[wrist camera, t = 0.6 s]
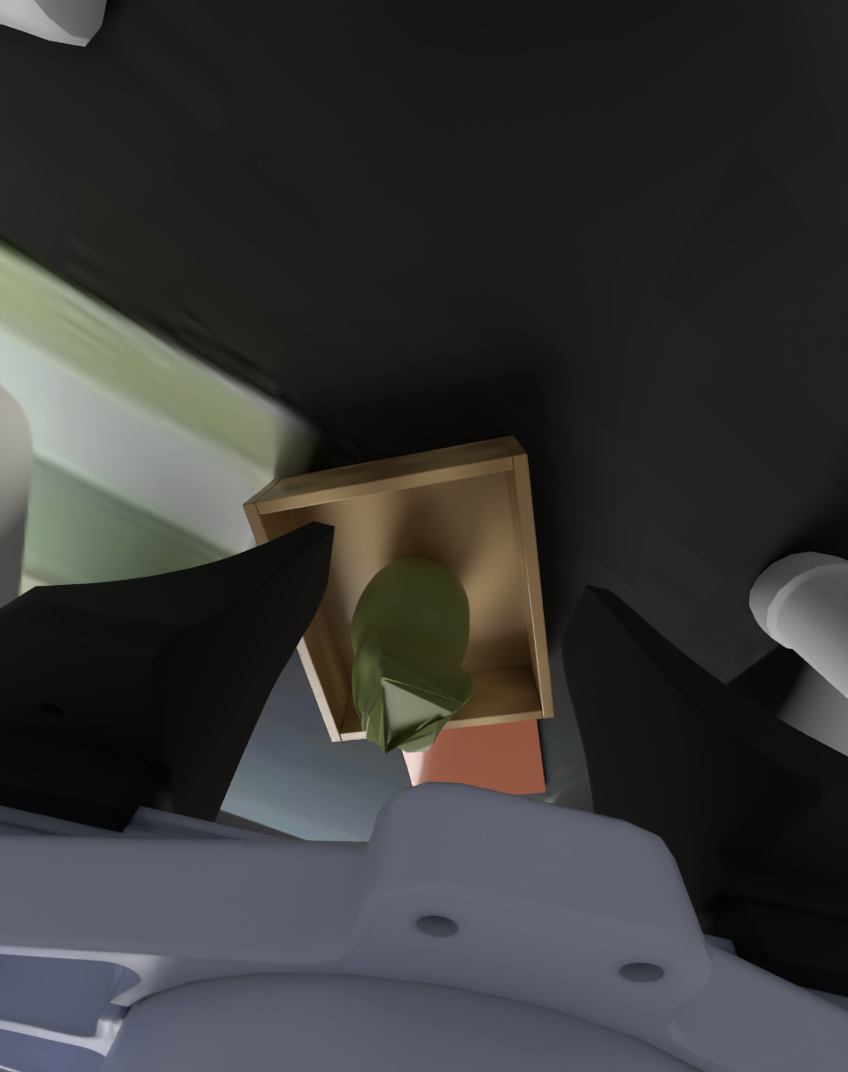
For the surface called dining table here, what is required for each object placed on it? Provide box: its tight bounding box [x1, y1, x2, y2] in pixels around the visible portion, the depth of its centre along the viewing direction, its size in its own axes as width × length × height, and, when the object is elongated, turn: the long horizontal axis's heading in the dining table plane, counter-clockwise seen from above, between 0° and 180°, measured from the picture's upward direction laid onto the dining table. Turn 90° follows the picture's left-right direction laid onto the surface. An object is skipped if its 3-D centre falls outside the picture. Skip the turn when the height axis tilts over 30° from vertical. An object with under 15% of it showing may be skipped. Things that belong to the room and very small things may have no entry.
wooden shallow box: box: [243, 435, 554, 742], centre depth 23 cm, size 12×14×4 cm
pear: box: [351, 557, 473, 754], centre depth 19 cm, size 6×5×10 cm
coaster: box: [402, 719, 546, 795], centre depth 29 cm, size 9×9×1 cm
